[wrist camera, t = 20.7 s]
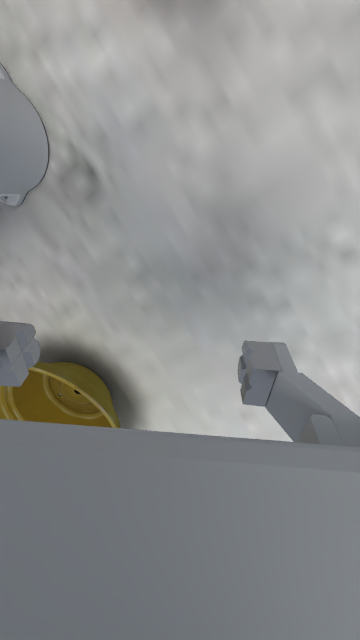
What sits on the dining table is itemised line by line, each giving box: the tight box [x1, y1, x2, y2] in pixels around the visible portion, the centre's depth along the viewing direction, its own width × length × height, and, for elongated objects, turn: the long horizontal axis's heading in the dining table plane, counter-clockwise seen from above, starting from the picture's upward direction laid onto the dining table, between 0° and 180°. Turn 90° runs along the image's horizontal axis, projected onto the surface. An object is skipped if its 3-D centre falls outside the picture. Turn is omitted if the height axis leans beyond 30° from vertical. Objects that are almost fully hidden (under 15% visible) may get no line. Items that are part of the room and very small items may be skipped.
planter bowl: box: [0, 362, 121, 428], centre depth 59 cm, size 32×32×13 cm
